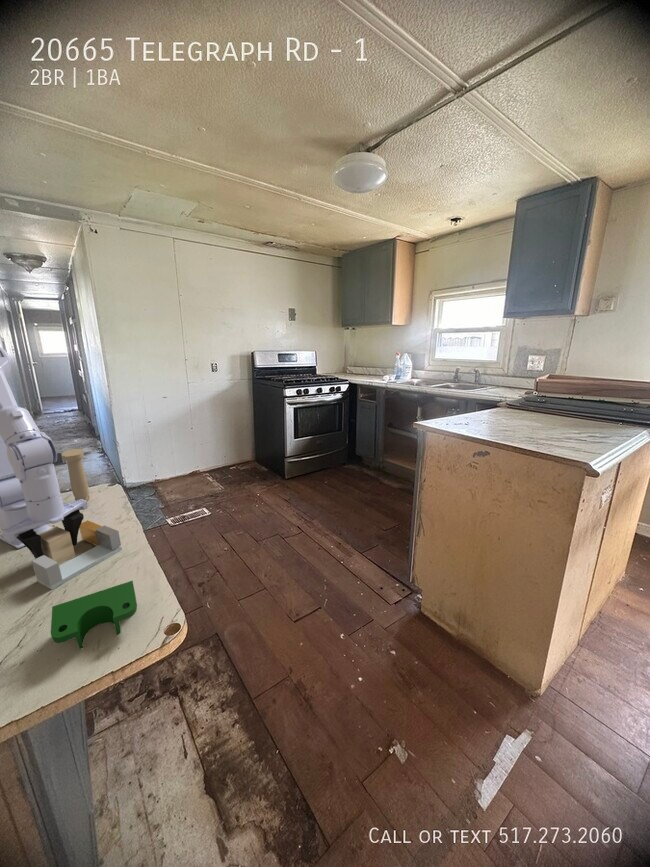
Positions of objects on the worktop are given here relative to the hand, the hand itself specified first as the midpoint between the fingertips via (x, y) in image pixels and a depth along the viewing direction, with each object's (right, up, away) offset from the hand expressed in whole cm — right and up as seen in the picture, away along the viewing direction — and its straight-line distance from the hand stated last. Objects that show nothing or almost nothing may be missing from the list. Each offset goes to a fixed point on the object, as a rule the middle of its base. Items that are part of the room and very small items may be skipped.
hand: (57, 551), depth 73 cm
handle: (-12, +6, +25) cm, 28 cm away
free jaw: (+6, 0, +5) cm, 8 cm away
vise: (+7, -2, -2) cm, 7 cm away
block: (0, -1, 0) cm, 2 cm away
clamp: (+21, -7, -17) cm, 28 cm away
